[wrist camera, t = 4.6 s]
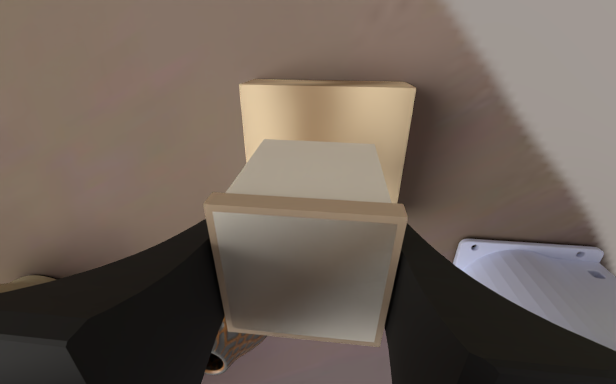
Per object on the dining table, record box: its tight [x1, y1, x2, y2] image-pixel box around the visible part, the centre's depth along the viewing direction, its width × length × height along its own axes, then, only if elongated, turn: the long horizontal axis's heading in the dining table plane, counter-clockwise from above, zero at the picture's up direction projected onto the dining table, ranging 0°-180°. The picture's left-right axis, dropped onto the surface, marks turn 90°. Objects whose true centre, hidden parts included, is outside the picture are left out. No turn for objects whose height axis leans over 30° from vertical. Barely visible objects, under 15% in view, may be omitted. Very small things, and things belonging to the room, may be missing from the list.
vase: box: [204, 317, 267, 375], centre depth 20 cm, size 7×7×9 cm
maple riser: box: [239, 79, 416, 203], centre depth 18 cm, size 9×9×3 cm
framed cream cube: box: [203, 139, 408, 347], centre depth 10 cm, size 5×5×6 cm
